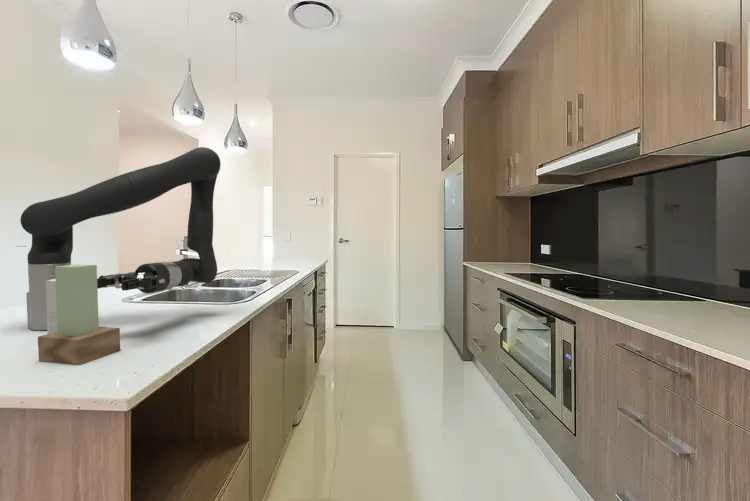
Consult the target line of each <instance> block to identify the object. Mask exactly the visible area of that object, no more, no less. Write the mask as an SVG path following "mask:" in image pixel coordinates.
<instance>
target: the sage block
mask: <svg viewBox="0 0 750 501" xmlns="http://www.w3.org/2000/svg"><path fill="white" fill-rule="evenodd" d="M97 269H98V265H97V264H71V265H67V266H57V267H55V278H56V304H57V330H58V335H66V336H81V335H84V334H88V333H92V332H95V331H99V327H100V324H99V322H100V321H99V295H98V294H99V293H98V289H97V279H98V270H97Z"/></svg>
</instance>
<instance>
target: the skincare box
mask: <svg viewBox="0 0 750 501" xmlns="http://www.w3.org/2000/svg"><path fill="white" fill-rule="evenodd" d="M46 299H47V330H46V332H47V334H50V333H54V332H58V330H57V304H56V279H52V280H48V281H46Z"/></svg>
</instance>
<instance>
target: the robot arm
mask: <svg viewBox="0 0 750 501" xmlns="http://www.w3.org/2000/svg"><path fill="white" fill-rule="evenodd" d="M220 170H221V159H220V156H219V155H218V153H217V152H216V151H215V150H214V149H211V148H209V147H204V146H201V147H196V148H194V149H192V150H189V151H187V152H185V153H183V154H181V155H179V156H177V157H174V158H172V159H169V160H168V161H164V162H162V163H157V164H154V165H149V166H146V167H145V166H144V167H142V168H138V169H135V170H133V171H132V170H131V171H129V172H125V173H123V174H120V175H117V176H114V177H112V178H109V179H106V180H104V181H101V182H98V183H96V184H94V185H91V186H88V187H87V188H84V189H82V190H79V191H77V192H75V193H71V194H68V195H64V196H60V197H56V198H52V199H48V200H43V201H38V202H35V203H32V204H30V205H29V206H27V208H25V209H24V210H23V212H22V214H21V216H20V219H19V221H20V225H21V227H22V228H23V230H24V231H25V232H27V233H28V234H30V235H31V247H30V249H29V251H28V253H27V273H28V274H27V275H28V291H27V292H26V316H27V317H26V319H27V328H28V329H30V330H32V331H47V299H46V281H48V280H52V279H56V278H55V267H57V266H67V265H72V253H73V248H74V229H73V228H74V227H73V226H75V225H77V224H79V223H81V222H84V221H87V220H90V219H93V218H98V217H101V216H102V217H103V216H109V215H112V214H116V213H120V212H124V211H126V210H127V211H128V210H129V209H133V208H136V207H139V206H141V205H144V204H145V203H149V202H151V201H154V200H155V199H157V198H159V197H161V196H163V195H164V194H166V193H168V192H170V191H171V190H173V189H176V188H177V187H180V186H182V185H183V186H184V185H187V184H190V190H191V192H190V193H191V196H190V207H189V214H188V222H187V237H186V238H187V239H186V241H187V242H186V246H187V249H189V250H190V251H194V252H196V253H197V255H198V257H199V258H195V257H187V258H182V259H180V260H175V261H160V262H150V263H143V264H141V265H139V266H138V267H136V270H135V271H128V272H125V273H115V274H107V275H99V276H98V277H97V290H98V289H102V288H103V289H104V288H105V289H107V288H111V287H113V288H115V289H121V290H122V291H125V292H126V291H130V290H136V289H137V290H138V291H140V292H142V293H143V294H154V293H158V292H162V291H167V290H168V291H169V290H170V289H173V288H178V287H182V286H185V285H188V284H189V283H191V282H192V283H193V282H194V283H201V284H209V283H212V282H213V281H214V280H215V279H216V277H217V275H218V265H217V260H216V255H215V250H214V246H213V238H214V193H215V186H216V182H217V178H218V175H219V174H220Z"/></svg>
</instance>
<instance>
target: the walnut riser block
mask: <svg viewBox="0 0 750 501" xmlns="http://www.w3.org/2000/svg"><path fill="white" fill-rule="evenodd" d="M37 347H38V348H37V349H38V350H37V351H38V354H37V355H38V362H44V363H54V364H55V363H57V364H64V365H65V364H66V365H76V366H80V365H83V364H85V363H89V362H91V361H94V360H97V359H99V358H103V357H106V356H109V355H112V354H114V353H116V352H120V351H121V333H120V327H112V326H111V327H109V326H108V327H107V326H99V331H95V332H92V333H88V334H84V335H81V336H66V335H58V332H54V333H50V334H43V335H38V336H37Z"/></svg>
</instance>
